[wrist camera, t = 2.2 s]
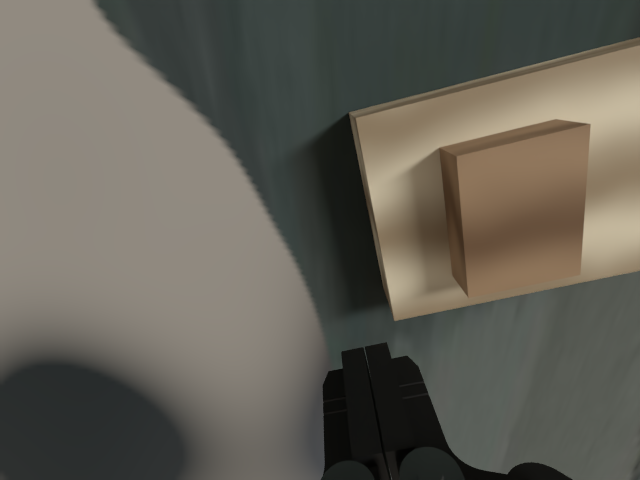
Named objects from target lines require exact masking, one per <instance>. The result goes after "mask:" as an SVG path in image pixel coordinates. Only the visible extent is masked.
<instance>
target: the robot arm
mask: <svg viewBox="0 0 640 480" xmlns="http://www.w3.org/2000/svg"><path fill="white" fill-rule="evenodd" d="M365 350H366V355H367V360H368V364H367V360H366V356H365V352H364V348H363V347H362V348H357V349H352V350H347V351H342V352H341V354H342V364H343V369H338V370H333V371H329V372H328V374H327V377H326V379H325V381H324V384H323V402H324V403H323V413H324V451H325V468H324V474H323V477H322V478H321V480H391V477H392V480H572V479H571V478H569V477H567V476H566V475H564V474H562V473H561V472H559V471H557V470H555V469H553V468H551V467H549V466H546V465H543V464H539V463H532V462H531V463H523V464H519V465H517V466H515V467H514V468H512V469H511V470H510V472H509V473H508V475H507V474H501V473H495V472H489V471H484V470H479V469H476V468H473V467H471V466H469V465H467V464H465V463H464V462H462V461H461V460H460V459H459V458H458V457H456V456H455V455H454V453H453V452H452V451H451V449H450V448H449V446H448V444H447V442H446V440H445V437H444V434H443V432H442V429H441V426H440V423H439V421H438V418H437V415H436V413H435V410H434V407H433V405H432V402H431V399H430V397H429V395H428V391H427V389H426V386H425V384H424V381H423V378H422V375H421V372H420V370H419V367H418V366H417V365H416V364H415V363H414V362H413V361H412V360H411V359H410V358H409V357H408V356H403V357H398V358H393V359H391V355H390V352H389V348H388V345H387V342H386V343H381V344H376V345H371V346H366V347H365ZM368 365H369V368H368ZM369 371H370V373H369ZM370 376H371V377H370ZM389 469H390V470H389ZM390 473H391V475H390Z"/></svg>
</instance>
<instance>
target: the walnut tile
mask: <svg viewBox="0 0 640 480" xmlns="http://www.w3.org/2000/svg"><path fill="white" fill-rule="evenodd" d="M590 127H591V124H587V123H580V122H573V121H566V120H559V119H554V120H550V121H546V122H542V123H538V124H533V125H529V126H525V127H521V128H517V129H513V130H509V131H505V132H501V133H497V134H493V135H488V136H484V137H480V138H476V139H472V140H468V141H464V142H460V143H456V144H452V145H448V146H443V147H439V152H440V162H441V172H442V181H443V191H444V201H445V210H446V220H447V230H448V239H449V249H450V259H451V268H452V276H453V277H454V279H455V280H456V282H457V283H458V284H459V286H460V287H461V288H462V290H463V291H464V293H465V294H466V295H467V297H468V298H471V297H476V296H481V295H486V294H491V293H495V292H500V291H505V290H510V289H515V288H520V287H524V286H529V285H534V284H539V283H544V282H549V281H553V280H558V279H563V278H568V277H573V276H578V275H580V273H581V258H582V244H583V229H584V215H585V200H586V185H587V171H588V156H589V141H590Z"/></svg>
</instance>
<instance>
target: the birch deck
mask: <svg viewBox="0 0 640 480" xmlns="http://www.w3.org/2000/svg"><path fill="white" fill-rule="evenodd" d="M349 117H350V122H351V127H352V132H353V137H354V142H355V147H356V152H357V157H358V162H359V167H360V172H361V177H362V182H363V187H364V192H365V197H366V202H367V207H368V212H369V217H370V222H371V227H372V233H373V238H374V243H375V248H376V253H377V258H378V263H379V268H380V273H381V278H382V283H383V288H384V291H385V294H386V297H387V300H388V303H389V306H390V309H391V312H392V315H393V318H394V321H396V320H401V319H406V318H411V317H415V316H420V315H425V314H430V313H435V312H440V311H445V310H450V309H455V308H459V307H464V306H469V305H474V304H479V303H484V302H489V301H494V300H498V299H503V298H508V297H513V296H518V295H523V294H528V293H533V292H537V291H542V290H547V289H552V288H557V287H562V286H567V285H572V284H576V283H581V282H586V281H591V280H596V279H601V278H606V277H611V276H615V275H620V274H625V273H630V272H635V271H640V37H639V38H635V39H631V40H627V41H623V42H619V43H616V44H612V45H608V46H604V47H600V48H596V49H592V50H589V51H585V52H581V53H577V54H573V55H569V56H565V57H561V58H558V59H554V60H550V61H546V62H542V63H538V64H534V65H531V66H527V67H523V68H519V69H515V70H511V71H507V72H503V73H500V74H496V75H492V76H488V77H484V78H480V79H476V80H472V81H469V82H465V83H461V84H457V85H453V86H449V87H445V88H442V89H438V90H434V91H430V92H426V93H422V94H418V95H414V96H411V97H407V98H403V99H399V100H395V101H391V102H387V103H384V104H380V105H376V106H372V107H368V108H364V109H360V110H356V111H353V112H349ZM554 119H559V120H566V121H573V122H580V123H587V124H591V127H590V141H589V156H588V171H587V185H586V200H585V215H584V229H583V244H582V258H581V273H580V275H578V276H573V277H568V278H563V279H558V280H553V281H549V282H544V283H539V284H534V285H529V286H524V287H520V288H515V289H510V290H505V291H500V292H495V293H491V294H486V295H481V296H476V297H471V298H468V297H467V295H466V294H465V293H464V291H463V290H462V288H461V287H460V286H459V284H458V283H457V282H456V280H455V279H454V277H453V276H452V268H451V259H450V249H449V239H448V230H447V220H446V210H445V201H444V191H443V181H442V172H441V162H440V152H439V147H443V146H448V145H452V144H456V143H460V142H464V141H468V140H472V139H476V138H480V137H484V136H488V135H493V134H497V133H501V132H505V131H509V130H513V129H517V128H521V127H525V126H529V125H533V124H538V123H542V122H546V121H550V120H554Z"/></svg>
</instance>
